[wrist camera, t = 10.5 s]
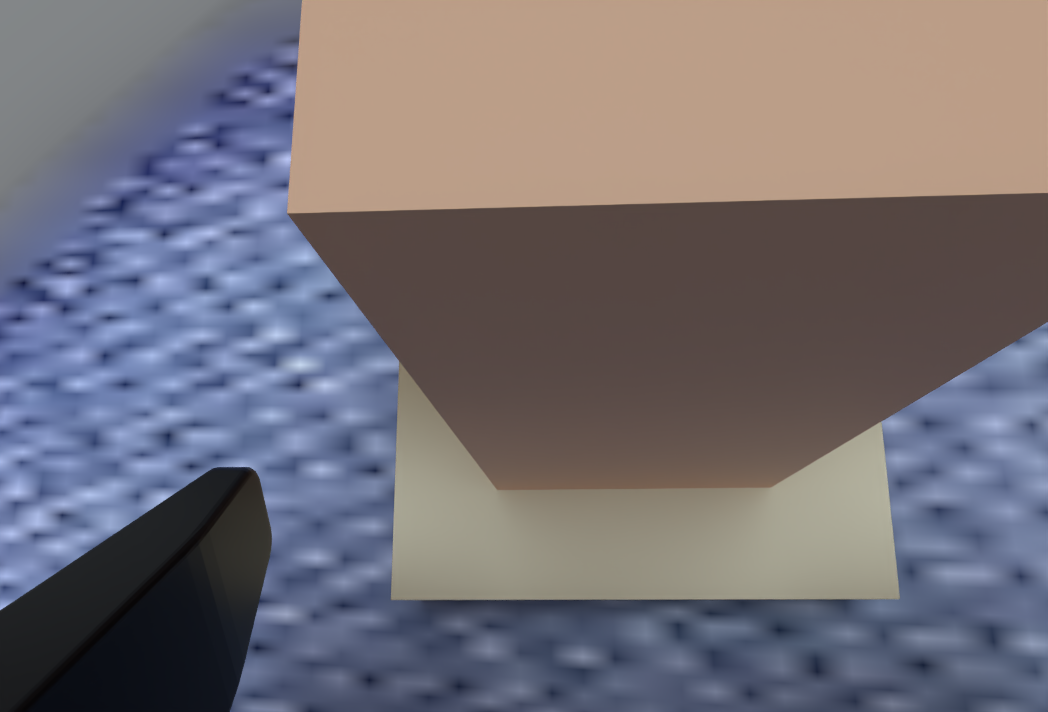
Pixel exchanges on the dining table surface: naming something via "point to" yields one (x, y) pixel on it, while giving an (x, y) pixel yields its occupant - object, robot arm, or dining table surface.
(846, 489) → the plinth
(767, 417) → the brown block
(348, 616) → the dining table surface
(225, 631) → the robot arm
